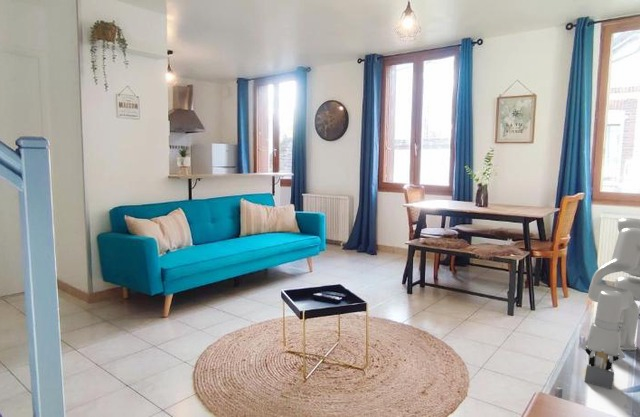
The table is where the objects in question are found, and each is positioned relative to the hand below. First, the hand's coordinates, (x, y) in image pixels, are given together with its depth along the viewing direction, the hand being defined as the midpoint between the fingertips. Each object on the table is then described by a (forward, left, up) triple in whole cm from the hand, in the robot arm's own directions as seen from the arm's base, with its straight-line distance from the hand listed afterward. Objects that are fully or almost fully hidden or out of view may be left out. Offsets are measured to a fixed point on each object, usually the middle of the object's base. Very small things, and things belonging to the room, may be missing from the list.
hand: (599, 367), depth 164 cm
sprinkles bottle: (0, 0, -4) cm, 4 cm away
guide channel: (-8, 0, -4) cm, 9 cm away
